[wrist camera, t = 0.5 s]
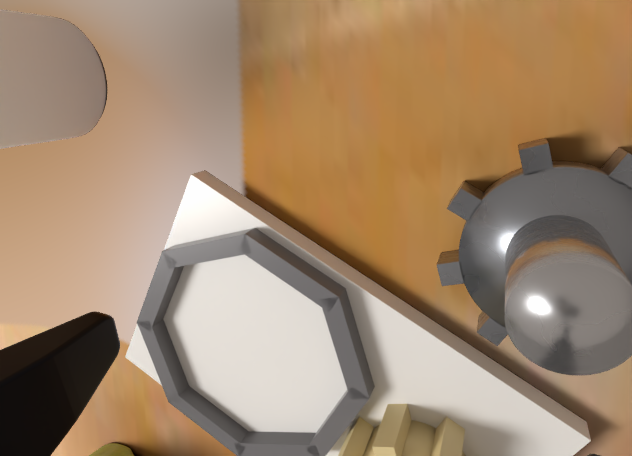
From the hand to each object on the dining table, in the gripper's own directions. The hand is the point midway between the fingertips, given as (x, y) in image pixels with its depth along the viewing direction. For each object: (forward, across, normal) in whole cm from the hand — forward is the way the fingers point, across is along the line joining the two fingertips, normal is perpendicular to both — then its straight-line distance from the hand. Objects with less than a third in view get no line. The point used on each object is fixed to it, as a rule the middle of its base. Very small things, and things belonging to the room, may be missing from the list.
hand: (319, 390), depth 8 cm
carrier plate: (+12, +3, +13) cm, 18 cm away
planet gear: (+13, -6, +3) cm, 15 cm away
